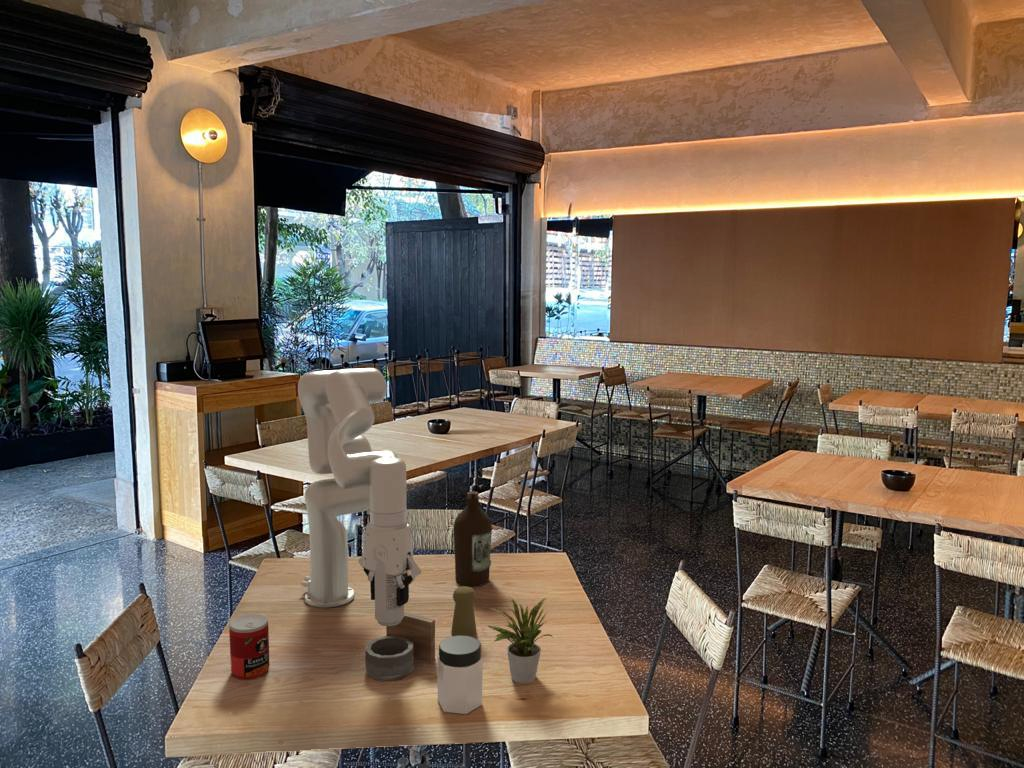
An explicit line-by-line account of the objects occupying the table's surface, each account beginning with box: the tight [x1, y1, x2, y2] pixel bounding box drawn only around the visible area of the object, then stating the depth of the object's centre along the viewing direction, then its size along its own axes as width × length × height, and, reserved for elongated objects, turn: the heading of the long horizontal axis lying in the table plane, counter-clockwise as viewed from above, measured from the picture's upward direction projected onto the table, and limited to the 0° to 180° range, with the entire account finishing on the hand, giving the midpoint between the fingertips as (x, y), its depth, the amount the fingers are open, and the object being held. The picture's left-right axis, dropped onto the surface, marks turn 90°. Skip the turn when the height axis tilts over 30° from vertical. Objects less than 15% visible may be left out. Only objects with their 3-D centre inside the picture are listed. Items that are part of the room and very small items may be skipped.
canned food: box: [228, 613, 270, 681], centre depth 157 cm, size 8×8×11 cm
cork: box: [450, 585, 477, 638], centre depth 175 cm, size 6×6×11 cm
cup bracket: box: [364, 611, 436, 682], centre depth 160 cm, size 13×12×9 cm
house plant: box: [487, 596, 553, 685], centre depth 156 cm, size 14×14×16 cm
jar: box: [437, 635, 484, 715], centre depth 145 cm, size 9×8×12 cm
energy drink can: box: [374, 561, 405, 627], centre depth 156 cm, size 6×6×15 cm
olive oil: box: [452, 490, 493, 587], centre depth 207 cm, size 11×11×25 cm
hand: (389, 600), depth 157 cm, fingers closed on energy drink can, 6 cm apart
